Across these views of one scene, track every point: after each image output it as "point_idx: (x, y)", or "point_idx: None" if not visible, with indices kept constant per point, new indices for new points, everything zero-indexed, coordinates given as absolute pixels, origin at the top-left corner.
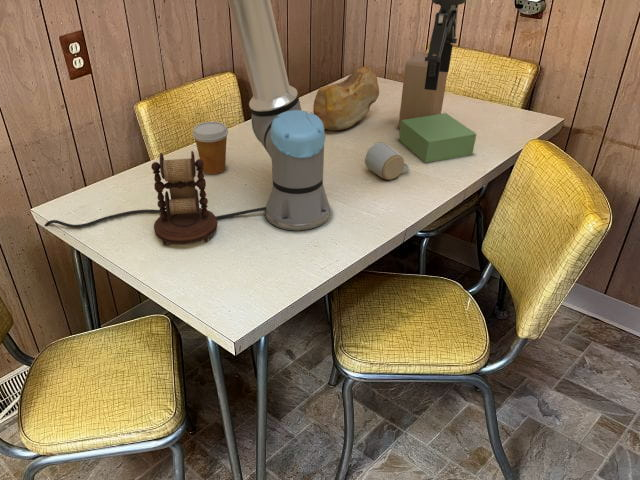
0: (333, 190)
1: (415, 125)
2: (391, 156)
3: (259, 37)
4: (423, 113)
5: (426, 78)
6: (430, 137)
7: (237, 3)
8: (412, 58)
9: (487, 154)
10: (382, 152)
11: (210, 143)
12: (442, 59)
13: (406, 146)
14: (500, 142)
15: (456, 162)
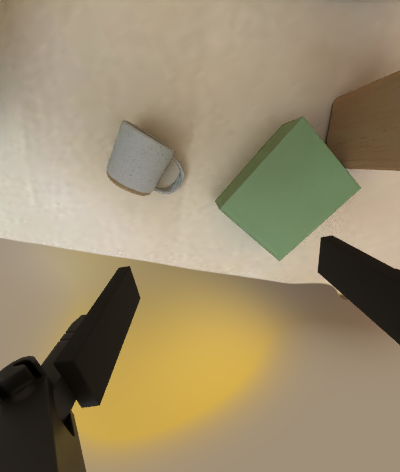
0: (47, 106)
1: (283, 157)
2: (116, 181)
3: None
4: (350, 148)
5: (104, 293)
6: (238, 205)
7: None
8: None
9: (274, 261)
10: (118, 159)
11: None
12: (355, 273)
13: (260, 150)
14: (317, 263)
15: (235, 237)
